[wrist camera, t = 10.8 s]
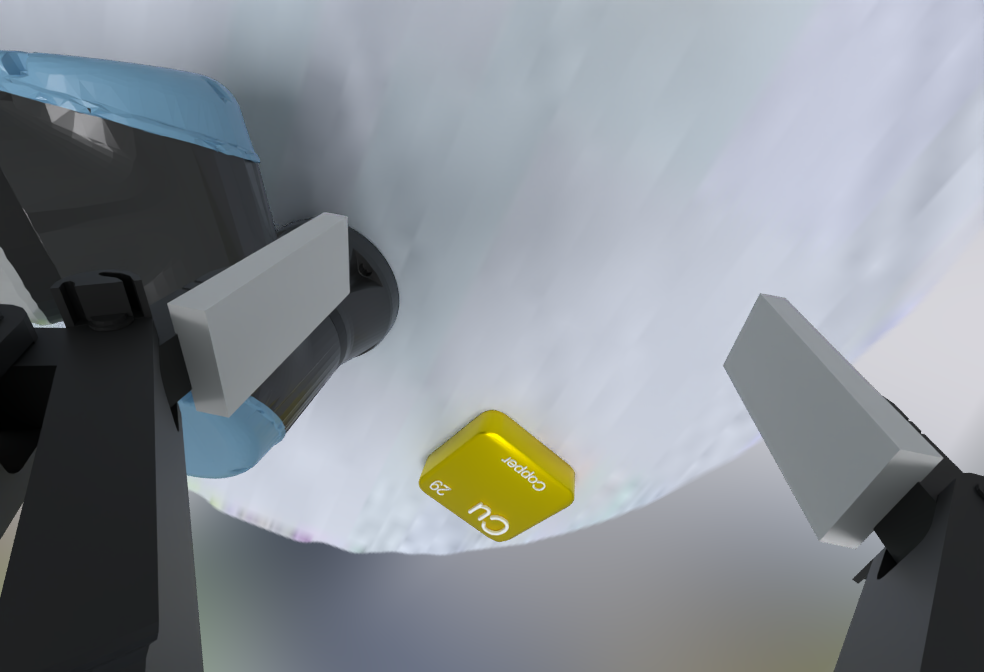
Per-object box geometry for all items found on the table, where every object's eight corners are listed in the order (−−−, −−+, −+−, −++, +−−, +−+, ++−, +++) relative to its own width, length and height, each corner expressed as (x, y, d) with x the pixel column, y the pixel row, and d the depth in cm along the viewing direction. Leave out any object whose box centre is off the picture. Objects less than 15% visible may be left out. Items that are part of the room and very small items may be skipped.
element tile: (581, 472, 56) (582, 503, 52) (503, 519, 63) (498, 550, 59) (493, 401, 53) (486, 429, 49) (421, 460, 60) (410, 488, 56)
